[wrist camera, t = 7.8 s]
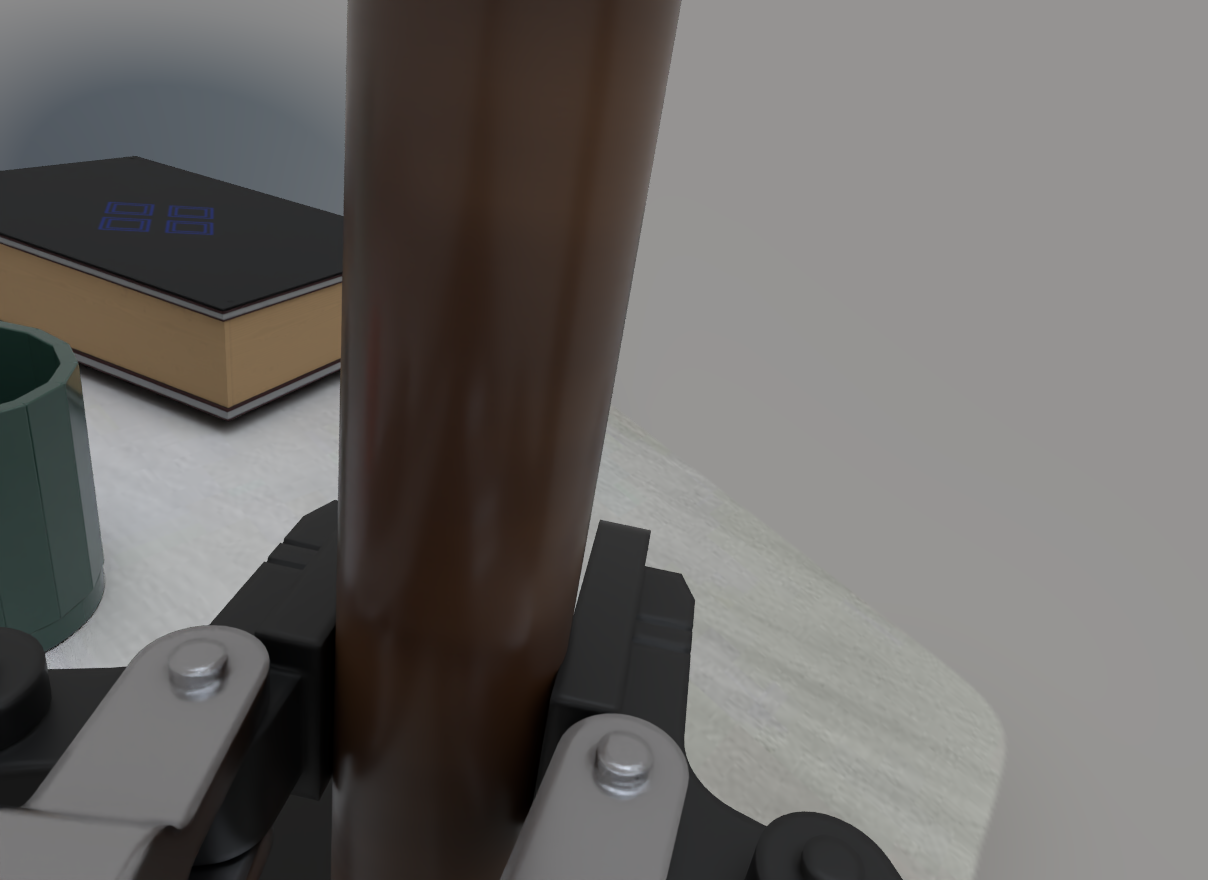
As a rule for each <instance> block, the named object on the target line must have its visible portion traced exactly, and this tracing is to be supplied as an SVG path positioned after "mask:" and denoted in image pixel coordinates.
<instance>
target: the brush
mask: <svg viewBox="0 0 1208 880" xmlns="http://www.w3.org/2000/svg"><path fill="white" fill-rule="evenodd" d="M680 6H681V0H348V11H347V12H348V13H347V65H346V114H345V118H346V119H345V166H344V168H345V169H344V218H343V270H342V321H341V373H340V425H339V477H338V528H337V580H336V632H335V683H334V735H333V787H332V839H331V880H500V879H501V876H502V874H503V872H504V869H505V867H506V865H507V862H508V860H509V858H510V855H511V853H512V851H513V848H514V846H515V844H516V841H517V839H518V836H519V834H520V832H521V829H522V827H523V825H524V822H525V820H526V818H527V815H528V813H529V811H530V808H531V806H532V804H533V798H534V792H535V786H536V780H537V774H538V769H539V763H540V757H541V751H542V745H543V739H544V733H545V727H546V722H547V716H548V710H549V704H550V698H551V694H552V691H553V687H554V684H555V680H556V676H557V673H558V669H559V667H560V666H561V664H562V662H563V660H564V658H565V655H566V652H567V648H568V643H569V637H570V631H571V626H572V620H573V614H574V609H575V603H576V597H577V591H578V586H579V580H580V574H581V569H582V563H583V557H584V552H585V546H586V540H587V535H588V529H589V523H590V518H591V512H592V506H593V501H594V495H595V489H596V483H597V478H598V472H599V466H600V461H601V455H602V449H603V444H604V438H605V432H606V427H607V421H608V415H609V410H610V404H611V398H612V393H613V387H614V381H615V375H616V370H617V364H618V358H619V353H620V347H621V341H622V336H623V330H624V324H625V319H626V313H627V307H628V301H629V296H630V290H631V284H632V279H633V273H634V268H635V262H636V256H637V250H638V245H639V239H640V233H641V228H642V222H643V216H644V211H645V205H646V199H647V193H648V188H649V182H650V177H651V171H652V165H653V159H654V154H655V148H656V142H657V137H658V131H659V125H660V119H661V114H662V108H663V103H664V97H665V91H666V86H667V79H668V74H669V68H670V63H671V57H672V52H673V46H674V40H675V35H676V29H677V23H678V17H679V12H680Z"/></svg>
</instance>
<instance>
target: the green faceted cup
mask: <svg viewBox="0 0 1208 880" xmlns="http://www.w3.org/2000/svg"><path fill="white" fill-rule="evenodd" d="M103 564H104V557H103V549H102V541H101V533H100V525H99V518H98V510H97V502H96V494H95V487H94V479H93V471H92V463H91V456H90V448H89V440H88V432H87V425H86V417H85V409H84V401H83V394H82V386H81V378H80V370H79V363H78V361H77V359H76V357H75V355H74V353H73V350H72V348H71V346H70V345H69V344H68V343H67V342H65V341H63V340H61V339H59V338H57V337H55V336H53V335H51V334H49V333H47V332H45V331H43V330H41V329H38V328H33V327H28V326H23V325H18V324H14V323H9V322H4V321H0V627H6V628H12V629H16V630H20V631H23V632H25V633H28V634H30V635H31V636H33V637H34V638H36V639H37V640H38V641H39V643H40V644H41V645H42V647H43V650H44V652H46V651H48V650H49V649H51V648H53V647H55V646H56V645H58V644H59V643H61V642H62V641H64V640H65V639H67V638H68V637H69V636H71V635H72V634H73V633H74V632H75V631H77V630H78V629H79V628H80V627H81V626H82V625H83V624H84V623H85V622H86V621H87V620H88V619H89V618H90V617H91V615H92V614H93V612H94V611H95V610H96V608H97V606H98V604H99V602H100V600H101V598H102V595H103V591H104V580H105V579H104V572H103Z"/></svg>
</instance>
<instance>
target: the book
mask: <svg viewBox="0 0 1208 880" xmlns="http://www.w3.org/2000/svg"><path fill="white" fill-rule="evenodd" d="M343 218H344V216H341V215H337V214H334V213H330V212H327V211H323V210H320V209H316V208H313V207H310V206H306V205H303V204H299V203H295V202H292V201H289V200H285V199H282V198H279V197H275V196H272V195H268V194H264V193H261V192H258V191H254V190H251V189H248V188H244V187H241V186H237V185H234V184H230V183H227V182H223V181H220V180H216V179H212V178H210V177H206V176H203V175H199V174H196V173H192V172H189V171H185V170H182V169H178V168H175V167H172V166H168V165H165V164H161V163H158V162H154V161H151V160H147V159H144V158H141V157H137V156H132V157H123V158H114V159H105V160H96V161H87V162H78V163H68V164H59V165H51V166H42V167H33V168H23V169H14V170H5V171H0V321H4V322H9V323H14V324H18V325H23V326H28V327H33V328H38V329H41V330H43V331H45V332H47V333H49V334H51V335H53V336H55V337H57V338H59V339H61V340H63V341H65V342H67V343H68V344H69V345H70V346H71V348H72V350H73V353H74V355H75V357H76V359H77V361H78V363H81V364H83V365H86V366H89V367H91V368H94V369H96V370H99V371H101V372H104V373H106V374H109V375H111V376H114V377H117V378H119V379H122V380H124V381H127V382H129V383H132V384H134V385H137V386H139V387H142V388H145V389H147V390H150V391H152V392H155V393H157V394H160V395H162V396H165V397H167V398H170V399H173V400H175V401H178V402H180V403H183V404H185V405H188V406H190V407H193V408H195V409H198V410H201V411H203V412H206V413H208V414H211V415H213V416H216V417H218V418H221V419H223V420H226V421H230V420H232V419H234V418H236V417H238V416H241V415H243V414H245V413H247V412H249V411H252V410H254V409H256V408H258V407H260V406H262V405H265V404H267V403H269V402H271V401H273V400H275V399H278V398H280V397H282V396H284V395H286V394H289V393H291V392H293V391H295V390H297V389H299V388H302V387H304V386H306V385H308V384H310V383H313V382H315V381H317V380H319V379H321V378H323V377H326V376H328V375H330V374H332V373H334V372H337V371H339V370H341V321H342V270H343Z"/></svg>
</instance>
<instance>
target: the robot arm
mask: <svg viewBox="0 0 1208 880" xmlns="http://www.w3.org/2000/svg"><path fill="white" fill-rule="evenodd" d="M337 528H338V501H337V500H334V501H332V502H330V503H328V504H326V505H324V506H322V507H320V508H318V509H316V510H315V511H313V512H311V513H309V514H307V515H305V516H303V517H302V519H301V520H300V521H299V522H298V523H297V524H296V525H295V527H294V528H293V529H292V530H291V531H290V532H289V534H288V535H287V536H286V537H285V538H284V542H283V543H280V544H279V545H278V546H277V547H276V549H275V550H274V551H273V552H272V553H271V554H270V555H269V557H268V561H267V562H263V564H262V565H261V566H260V567H259V568H258V569H257V570H256V572H255V573H254V574H253V575H252V576H251V577H250V579H249V580H248V581H247V582H246V583H245V584H244V585H243V587H242V588H241V589H240V590H239V591H238V592H237V594H236V595H235V596H234V597H233V598H232V599H231V600H230V602H229V603H228V604H227V605H226V606H225V607H224V609H223V610H222V611H221V612H220V613H219V614H218V615H217V617H216V618H215V619H214V620H213V621H212V622H211V624H210V625H206V626H196V627H190V628H186V629H181V630H178V631H175V632H172V633H169V634H167V635H165V636H163V637H160V638H158V639H156V640H155V641H153V642H152V643H150V644H148V645H147V646H146V647H144V648H143V649H142V650H141V651H140V652H139V653H138V654H137V655H136V656H135V657H134V658H133V659H132V661H131V662H130V663H129V665H128V666H127V667H116V668H85V669H47V663H46V658H45V652H44V650H43V647H42V645H41V644H40V643H39V641H38V640H37V639H36V638H34V637H33V636H31V635H30V634H28V633H25V632H23V631H20V630H16V629H12V628H6V627H0V880H259V878H260V875H261V873H262V871H263V868H264V866H265V863H266V861H267V858H268V856H269V853H270V851H271V848H272V844H273V838H274V822H275V820H276V818H277V816H278V815H279V813H280V811H281V810H282V808H283V806H284V804H285V803H286V801H287V799H288V797H289V796H290V794H291V795H296V796H300V797H304V798H309V799H313V800H317V801H319V800H320V798H321V796H322V795H323V793H324V791H325V789H326V787H327V785H328V783H329V781H330V780H331V778H332V776H333V735H334V683H335V632H336V580H337ZM650 533H651V530H646V529H641V528H637V527H632V526H627V525H622V524H618V523H613V522H608V521H603V520H600V522H599V525H598V529H597V533H596V536H595V540H594V543H593V547H592V551H591V554H590V558H589V561H588V565H587V569H586V572H585V576H584V579H583V583H582V587H581V590H580V594H579V597H578V601H577V604H576V608H575V612H574V615H573V620H572V626H571V631H570V637H569V643H568V648H567V652H566V655H565V658H564V660H563V662H562V664H561V666H560V667H559V669H558V673H557V676H556V680H555V684H554V687H553V691H552V694H551V698H550V704H549V710H548V716H547V722H546V727H545V733H544V739H543V745H542V751H541V757H540V763H539V769H538V774H537V780H536V786H535V792H534V798H533V804H532V806H531V808H530V811H529V813H528V815H527V818H526V820H525V822H524V825H523V827H522V829H521V832H520V834H519V836H518V839H517V841H516V844H515V846H514V848H513V851H512V853H511V855H510V858H509V860H508V862H507V865H506V867H505V869H504V872H503V874H502V876H501V879H500V880H903V879H902V878H901V876H900V875H899V873H898V872H897V870H896V869H895V867H894V866H893V864H892V863H891V861H890V860H889V859H888V857H887V856H886V855H885V853H884V852H883V851H882V850H881V849H880V848H879V847H878V845H877V844H876V843H875V842H874V841H873V840H871V839H870V838H869V837H868V836H867V835H865V834H864V833H863V832H862V831H860V830H858V829H857V828H855V827H854V826H852V825H851V824H849V823H846V822H844V821H842V820H840V819H838V818H835V817H832V816H829V815H826V814H821V813H816V812H794V813H790V814H786V815H783V816H781V817H779V818H777V819H775V820H773V821H772V822H771V823H770V824H769V825H768V826H767V827H766V826H765V825H763V824H761V823H759V822H757V821H755V820H753V819H751V818H749V817H747V816H746V815H744V814H742V813H740V812H738V811H736V810H734V809H733V808H731V807H729V806H728V805H726V804H724V803H723V802H722V801H720V800H719V799H718V798H716V797H715V796H714V795H713V794H712V793H711V792H709V791H708V790H707V789H706V788H705V787H704V786H703V784H702V783H701V782H700V781H699V779H698V778H697V777H696V775H695V773H694V772H693V770H692V768H691V767H690V764H689V762H688V759H687V757H686V752H685V748H684V734H685V721H686V708H687V695H688V683H689V670H690V657H691V655H690V652H691V644H692V629H693V619H694V606H695V599H694V597H693V595H692V594H691V592H690V590H689V588H688V586H687V584H686V582H685V580H684V578H683V576H682V574H679V573H675V572H670V571H665V570H661V569H656V568H651V567H646V566H645V562H646V556H647V551H648V545H649V539H650Z"/></svg>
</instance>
